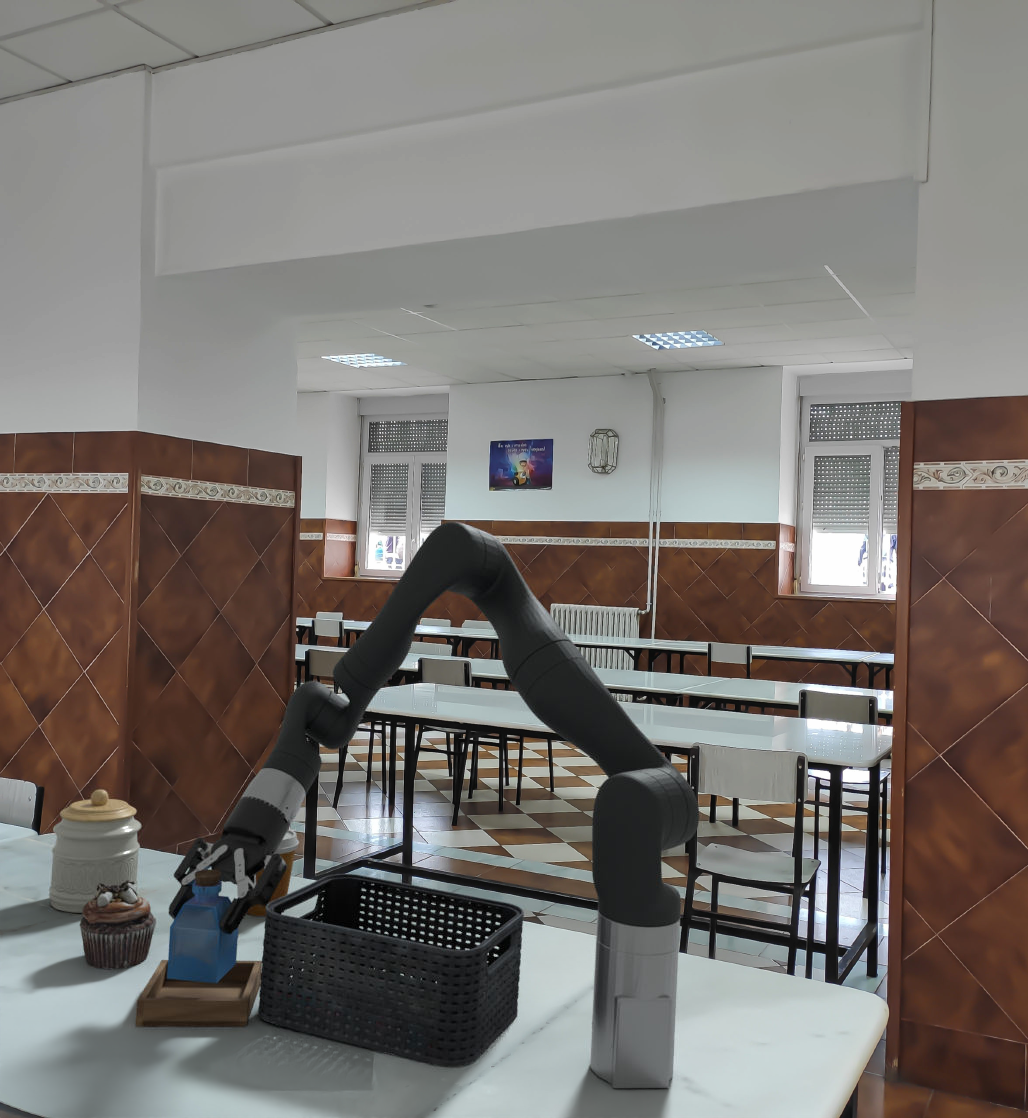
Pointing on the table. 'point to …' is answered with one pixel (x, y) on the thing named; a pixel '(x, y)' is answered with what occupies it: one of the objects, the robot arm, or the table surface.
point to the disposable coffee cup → (287, 853)
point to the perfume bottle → (202, 934)
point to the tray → (200, 998)
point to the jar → (93, 850)
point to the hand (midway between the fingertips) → (198, 924)
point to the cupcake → (117, 927)
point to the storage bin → (392, 969)
